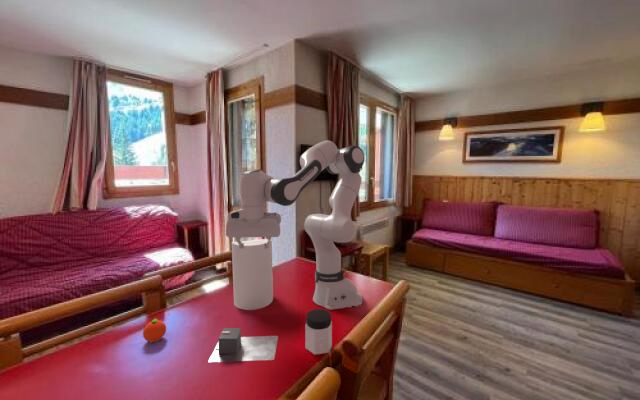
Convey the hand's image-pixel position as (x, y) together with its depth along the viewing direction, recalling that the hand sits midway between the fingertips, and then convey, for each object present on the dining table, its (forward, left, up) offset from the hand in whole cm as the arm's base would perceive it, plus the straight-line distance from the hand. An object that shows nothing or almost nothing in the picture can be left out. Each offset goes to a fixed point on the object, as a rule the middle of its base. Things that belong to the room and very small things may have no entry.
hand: (254, 248), depth 105 cm
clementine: (+33, +11, -29) cm, 46 cm away
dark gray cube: (+5, +19, -28) cm, 34 cm away
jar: (-24, +19, -29) cm, 42 cm away
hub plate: (0, +19, -29) cm, 35 cm away
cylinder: (+4, -16, -29) cm, 34 cm away
